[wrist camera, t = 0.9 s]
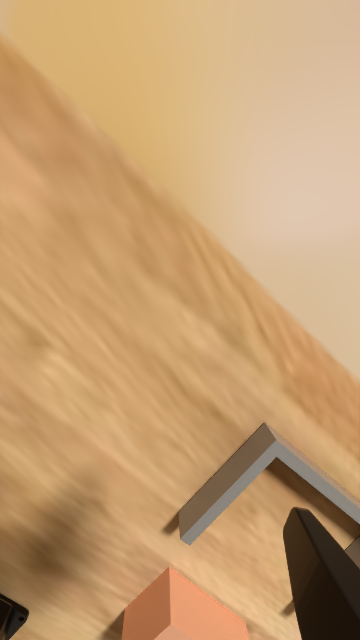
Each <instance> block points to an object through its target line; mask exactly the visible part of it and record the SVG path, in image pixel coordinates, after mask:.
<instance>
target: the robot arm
mask: <svg viewBox="0 0 360 640" xmlns="http://www.w3.org/2000/svg"><path fill="white" fill-rule="evenodd" d="M283 539H284V545H285V552H286V558H287V564H288V571H289V577H290V583H291V590H292V596H293V602H294V607H295V612H296V617H297V621H298V625H299V629H300V633H301V638H302V640H360V568H359V567H358V566H357V565H356V563H355V562H354V561H353V560H352V559H351V558H350V556H349V555H348V554H347V553H346V552H345V551H344V549H343V548H342V547H341V546H340V545H339V544H338V543H337V541H336V540H335V539H334V538H333V537H332V536H331V534H330V533H329V532H328V531H327V530H326V529H325V528H324V526H323V525H322V524H321V523H320V522H319V521H318V519H317V518H316V517H315V516H314V515H313V514H312V513H311V512H310V511H309V510H308V509H304V508H299V507H293V508H292V509H291V511H290V513H289V516H288V518H287V521H286V523H285V525H284V529H283ZM28 616H29V612H28V611H27V610H26V609H24V608H23V607H21V606H19V605H17V604H16V603H14V602H12V601H11V600H9V599H7V598H5V597H4V596H2V595H0V640H9V639H10V638H11V637H12V636H13V635H14V634H15V633H16V632H17V630H18V629H19V628H20V627H21V626H22V625H23V624H24V623H25V622H26V620H27V618H28Z"/></svg>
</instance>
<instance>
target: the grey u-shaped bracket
mask: <svg viewBox="0 0 360 640" xmlns="http://www.w3.org/2000/svg"><path fill="white" fill-rule="evenodd" d="M276 457H278V458H279V459H280V460H281V461H283V462H284V463H285V464H286V465H287V466H289V467H290V468H291V469H292V470H294V471H295V472H296V473H297V474H299V475H300V476H301V477H302V478H303V479H305V480H306V481H307V482H308V483H310V484H311V485H312V486H313V487H315V488H316V489H317V490H318V491H319V492H321V493H322V494H323V495H324V496H326V497H327V498H328V499H329V500H331V501H332V502H333V503H334V504H335V505H337V506H338V507H339V508H340V509H342V510H343V511H344V512H345V513H347V514H348V515H349V516H350V517H351V518H353V519H354V520H355V521H356V522H358V523H359V524H360V501H359V500H358V499H356V498H355V497H354V496H353V495H352V494H350V493H349V492H348V491H347V490H346V489H344V488H343V487H342V486H341V485H340V484H338V483H337V482H336V481H335V480H334V479H332V478H331V477H330V476H329V475H327V474H326V473H325V472H324V471H323V470H321V469H320V468H319V467H318V466H317V465H315V464H314V463H313V462H312V461H311V460H309V459H308V458H307V457H306V456H305V455H303V454H302V453H301V452H300V451H299V450H297V449H296V448H295V447H294V446H293V445H291V444H290V443H289V442H288V441H287V440H285V439H284V438H283V437H282V436H281V435H279V434H278V433H277V432H276V431H275V430H273V429H272V428H271V427H270V426H269V425H267V424H266V423H264V424H263V425H262V426H261V427H260V428H259V429H258V430H257V431H256V432H255V433H254V434H253V435H252V436H251V437H250V438H249V439H248V440H247V441H246V442H245V443H244V445H243V446H242V447H241V448H240V449H239V450H238V451H237V452H236V453H235V454H234V455H233V456H232V457H231V458H230V459H229V460H228V461H227V462H226V463H225V464H224V465H223V466H222V467H221V468H220V470H219V471H218V472H217V473H216V474H215V475H214V476H213V477H212V478H211V479H210V480H209V481H208V482H207V483H206V484H205V485H204V486H203V487H202V488H201V489H200V490H199V491H198V492H197V494H196V495H195V496H194V497H193V498H192V499H191V500H190V501H189V502H188V503H187V504H186V505H185V506H184V507H183V508H182V509H181V510H180V511H179V512H178V514H179V529H180V539H181V540H182V541H184V542H185V543H187V544H188V545H191V544H192V543H193V542H194V541H195V540H196V538H197V537H198V536H199V535H200V534H201V533H202V532H203V531H204V530H205V529H206V528H207V527H208V526H209V525H210V524H211V523H212V522H213V521H214V520H215V519H216V518H217V517H218V516H219V515H220V514H221V513H222V512H223V511H224V510H225V509H226V508H227V507H228V506H229V505H230V504H231V503H232V502H233V501H234V500H235V499H236V498H237V497H238V496H239V495H240V494H241V493H242V491H243V490H244V489H245V488H246V487H247V486H248V485H249V484H250V483H251V482H252V481H253V480H254V479H255V478H256V477H257V476H258V475H259V474H260V473H261V472H262V471H263V470H264V469H265V468H266V467H267V466H268V465H269V464H270V463H271V462H272V461H273V460H274V459H275V458H276ZM345 552H346V553H347V554H348V555H349V556H350V558H351V559H352V560H353V561H354V562H355V563H356V565H357V566H358V567H359V568H360V537H358V538H357V539H356V540H355V541H354V542H353V543H352V544H351V545H350V546H349V547H348V548H347V549H346V550H345Z"/></svg>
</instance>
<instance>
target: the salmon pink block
mask: <svg viewBox="0 0 360 640" xmlns="http://www.w3.org/2000/svg"><path fill="white" fill-rule="evenodd" d="M122 640H249V636H248V632H247V628H246V623H245V621H243V620H242V619H241V618H239V617H238V616H236V615H235V614H234V613H232V612H231V611H230V610H228V609H227V608H225V607H224V606H223V605H221V604H220V603H219V602H217V601H216V600H214V599H213V598H212V597H210V596H209V595H208V594H206V593H205V592H203V591H202V590H201V589H199V588H198V587H197V586H195V585H194V584H192V583H191V582H190V581H188V580H187V579H186V578H184V577H183V576H181V575H180V574H179V573H177V572H176V571H175V570H173V569H172V568H170V567H169V568H168V569H166V570H165V571H164V572H163V573H162V574H161V575H160V576H159V577H158V578H157V579H156V580H155V581H154V582H153V583H152V584H151V585H150V586H149V587H147V588H146V589H145V590H144V591H143V592H142V593H141V594H140V595H139V596H138V597H137V598H136V599H135V600H134V601H133V602H132V603H131V604H130V605H128V606H127V607H126V608H125V613H124V622H123V631H122Z"/></svg>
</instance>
